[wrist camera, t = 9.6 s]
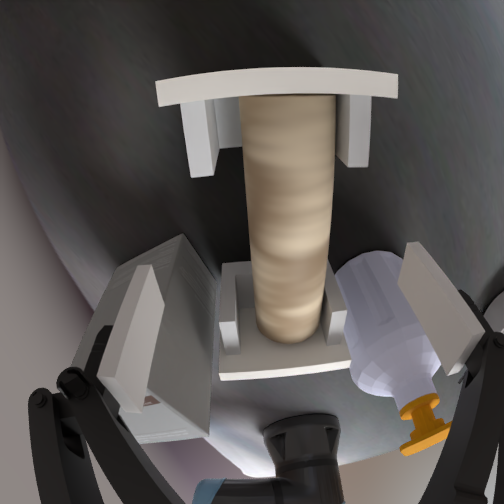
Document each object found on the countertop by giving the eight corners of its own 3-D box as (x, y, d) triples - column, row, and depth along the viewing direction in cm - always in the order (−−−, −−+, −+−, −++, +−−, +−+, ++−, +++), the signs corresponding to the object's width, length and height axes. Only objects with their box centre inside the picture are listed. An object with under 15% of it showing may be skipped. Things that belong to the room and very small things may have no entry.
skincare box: (153, 307, 30) (122, 449, 17) (111, 258, 27) (48, 406, 14) (223, 281, 29) (218, 444, 16) (183, 222, 25) (139, 396, 12)
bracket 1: (196, 74, 18) (155, 81, 9) (324, 68, 18) (397, 74, 9) (203, 133, 21) (173, 192, 12) (325, 125, 21) (391, 179, 12)
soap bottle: (312, 276, 29) (375, 550, 9) (394, 233, 26) (526, 483, 6) (343, 325, 33) (396, 533, 13) (412, 289, 31) (499, 487, 11)
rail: (283, 288, 24) (331, 314, 21) (242, 321, 21) (293, 354, 19) (279, 88, 15) (352, 94, 13) (218, 97, 13) (298, 100, 10)
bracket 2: (319, 271, 28) (349, 367, 19) (224, 279, 28) (221, 380, 19) (322, 231, 26) (361, 326, 17) (218, 239, 26) (209, 341, 17)
